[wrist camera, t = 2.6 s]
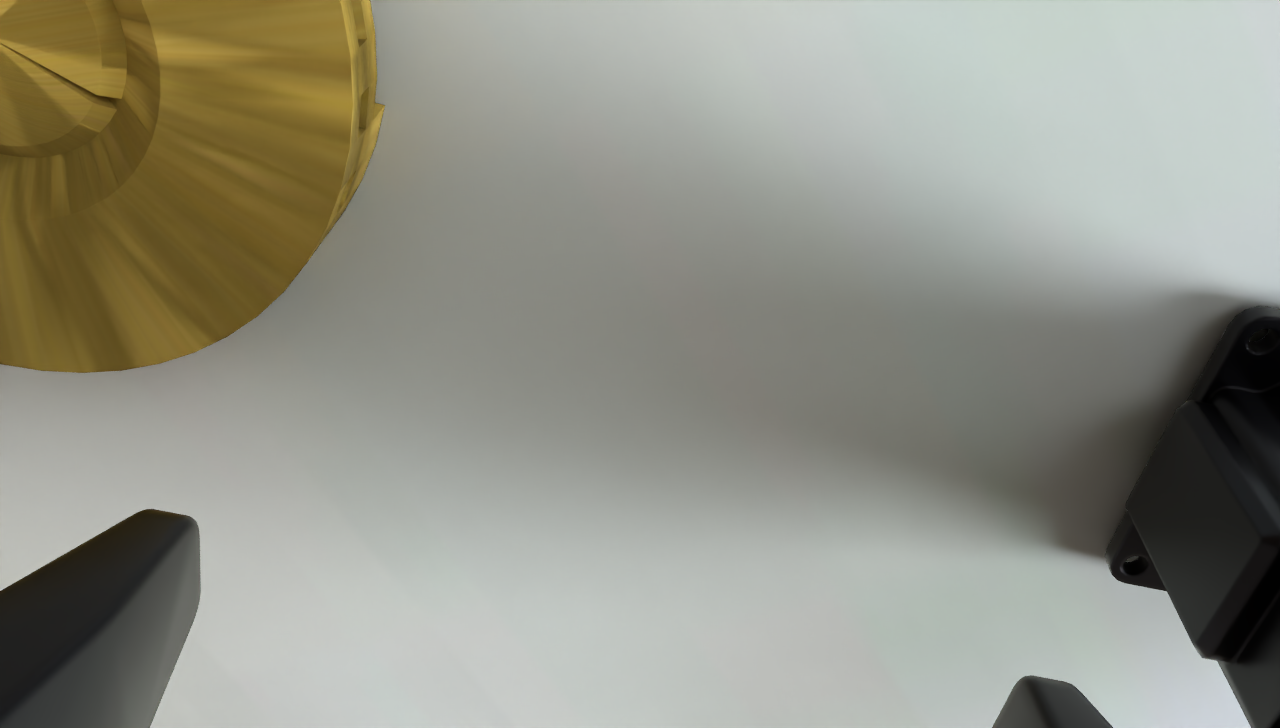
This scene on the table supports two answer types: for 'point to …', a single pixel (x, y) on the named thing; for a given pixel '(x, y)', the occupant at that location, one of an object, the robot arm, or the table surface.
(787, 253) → the table surface
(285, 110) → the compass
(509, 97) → the table surface
